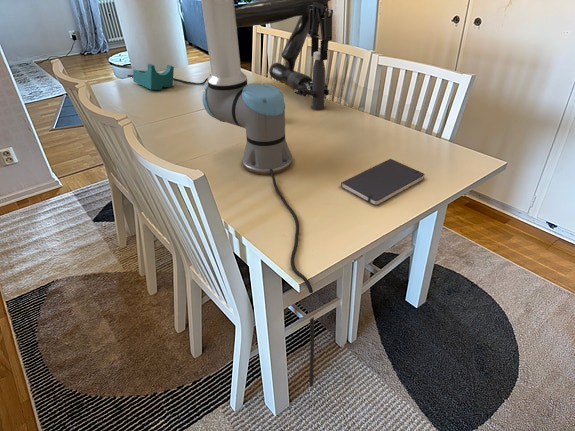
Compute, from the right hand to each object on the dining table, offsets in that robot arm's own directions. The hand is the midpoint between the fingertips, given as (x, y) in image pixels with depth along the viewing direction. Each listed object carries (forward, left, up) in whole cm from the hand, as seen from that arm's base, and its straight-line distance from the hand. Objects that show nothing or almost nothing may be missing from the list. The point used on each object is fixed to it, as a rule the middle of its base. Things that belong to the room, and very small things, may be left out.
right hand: (319, 57), depth 152 cm
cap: (0, 0, +1) cm, 1 cm away
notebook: (-61, -4, -20) cm, 64 cm away
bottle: (0, 0, -20) cm, 20 cm away
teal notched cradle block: (+47, +68, -20) cm, 85 cm away
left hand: (-2, -1, -13) cm, 13 cm away
